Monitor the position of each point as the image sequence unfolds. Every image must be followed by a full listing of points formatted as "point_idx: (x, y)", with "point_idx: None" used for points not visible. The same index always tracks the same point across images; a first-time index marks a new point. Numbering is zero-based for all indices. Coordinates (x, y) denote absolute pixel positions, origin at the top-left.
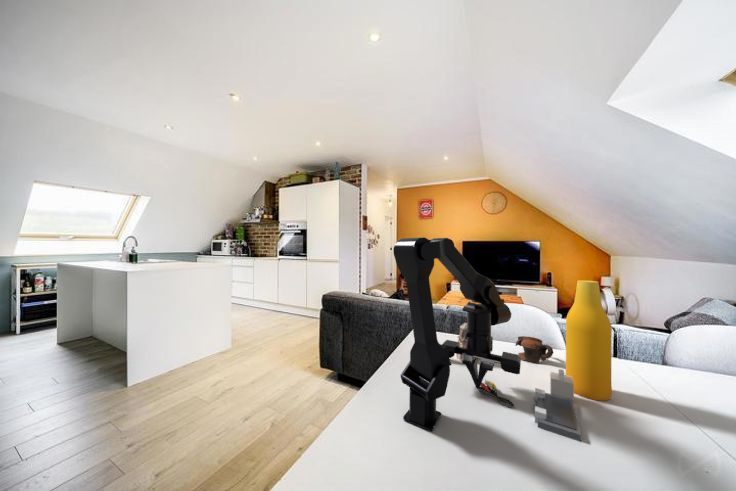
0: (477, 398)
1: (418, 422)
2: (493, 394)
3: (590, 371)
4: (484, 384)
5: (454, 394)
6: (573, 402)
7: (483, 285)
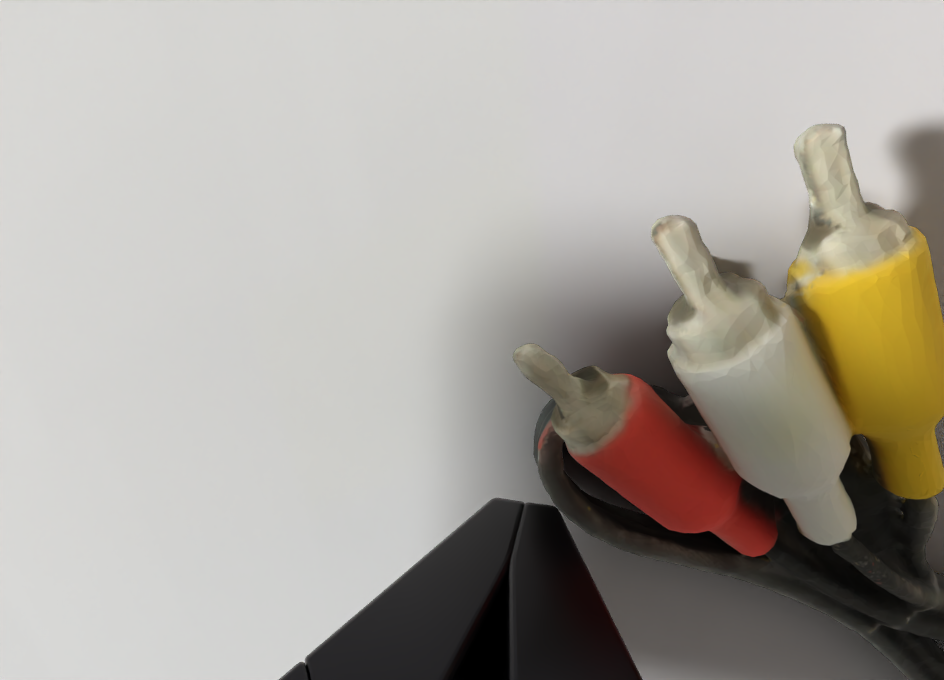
0: None
1: None
2: (833, 594)
3: None
4: (654, 472)
5: (242, 676)
6: None
7: None
